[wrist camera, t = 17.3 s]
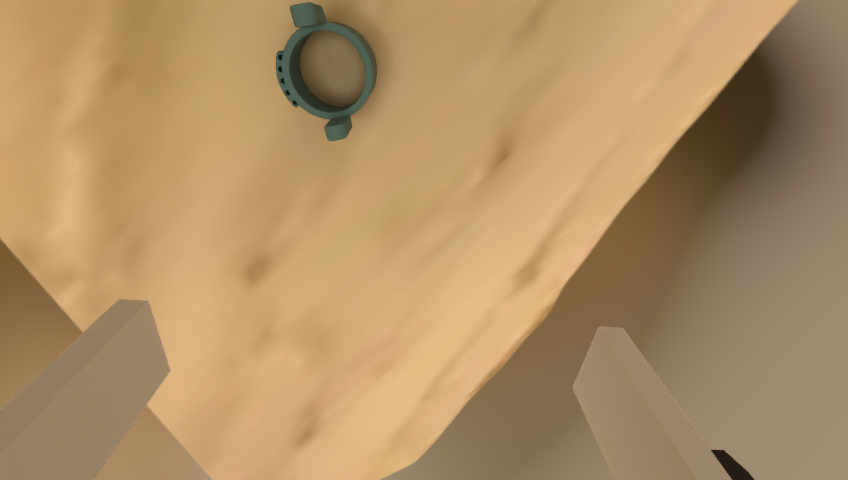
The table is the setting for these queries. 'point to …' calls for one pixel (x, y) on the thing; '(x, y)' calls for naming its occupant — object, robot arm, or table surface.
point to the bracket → (291, 78)
